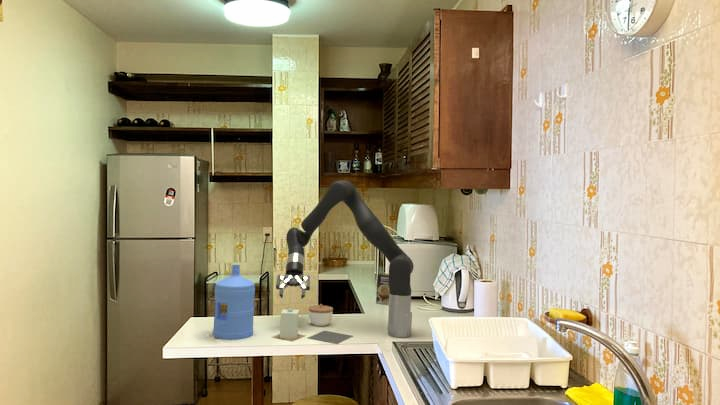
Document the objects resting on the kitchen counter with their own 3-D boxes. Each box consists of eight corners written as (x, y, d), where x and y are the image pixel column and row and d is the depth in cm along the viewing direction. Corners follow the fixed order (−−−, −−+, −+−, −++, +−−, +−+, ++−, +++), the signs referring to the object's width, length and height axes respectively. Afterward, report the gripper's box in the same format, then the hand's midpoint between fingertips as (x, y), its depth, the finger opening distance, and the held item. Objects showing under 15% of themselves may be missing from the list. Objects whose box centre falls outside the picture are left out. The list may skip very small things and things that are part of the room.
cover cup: (281, 333, 201) (282, 306, 201) (297, 334, 201) (298, 307, 201) (279, 338, 194) (281, 310, 194) (296, 338, 194) (297, 311, 194)
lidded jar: (310, 328, 212) (311, 307, 212) (306, 322, 223) (307, 301, 223) (334, 328, 215) (335, 306, 215) (329, 322, 225) (330, 301, 225)
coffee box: (375, 303, 271) (376, 274, 271) (378, 301, 277) (379, 272, 277) (391, 305, 268) (393, 275, 268) (394, 303, 274) (395, 274, 274)
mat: (353, 336, 202) (353, 335, 202) (337, 345, 190) (337, 344, 190) (324, 331, 209) (324, 330, 209) (306, 339, 196) (306, 338, 196)
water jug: (252, 329, 207) (255, 262, 207) (253, 340, 192) (256, 268, 192) (213, 330, 203) (216, 262, 203) (211, 341, 188) (214, 267, 188)
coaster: (306, 336, 200) (306, 335, 200) (292, 342, 191) (292, 341, 191) (285, 332, 204) (285, 331, 204) (271, 338, 195) (271, 337, 195)
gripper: (278, 260, 213) (274, 291, 201) (311, 261, 214) (309, 292, 202) (279, 270, 218) (275, 301, 207) (311, 271, 219) (309, 302, 208)
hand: (291, 297), depth 205 cm, fingers open, 8 cm apart
